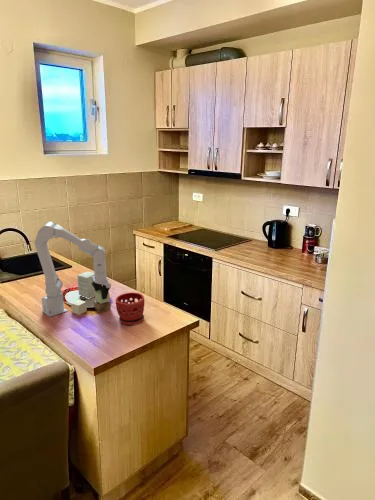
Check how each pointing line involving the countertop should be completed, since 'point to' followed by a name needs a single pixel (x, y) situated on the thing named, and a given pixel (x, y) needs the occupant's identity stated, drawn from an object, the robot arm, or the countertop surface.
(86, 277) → the supplement box
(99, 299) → the sage cube
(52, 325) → the countertop surface
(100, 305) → the walnut block
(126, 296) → the plant pot
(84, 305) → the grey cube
